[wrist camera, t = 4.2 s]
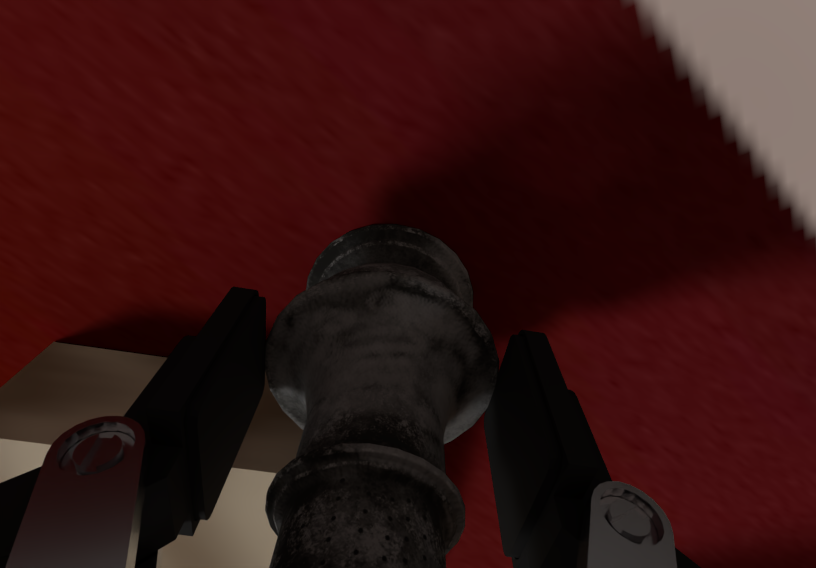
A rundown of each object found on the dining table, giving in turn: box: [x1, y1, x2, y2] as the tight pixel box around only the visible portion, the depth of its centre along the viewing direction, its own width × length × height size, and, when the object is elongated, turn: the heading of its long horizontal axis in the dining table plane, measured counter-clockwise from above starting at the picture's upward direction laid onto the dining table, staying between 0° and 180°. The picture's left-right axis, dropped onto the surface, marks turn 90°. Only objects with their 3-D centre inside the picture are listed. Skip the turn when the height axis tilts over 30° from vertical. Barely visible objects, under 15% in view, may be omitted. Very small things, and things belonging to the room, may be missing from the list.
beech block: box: [0, 342, 303, 568], centre depth 17 cm, size 12×12×4 cm
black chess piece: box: [265, 224, 499, 568], centre depth 9 cm, size 6×6×12 cm
